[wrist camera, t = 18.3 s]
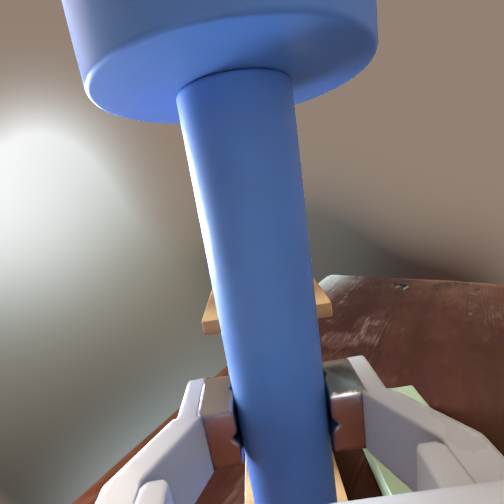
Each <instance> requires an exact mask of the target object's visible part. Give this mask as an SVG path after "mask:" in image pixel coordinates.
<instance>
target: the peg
mask: <svg viewBox="0 0 504 504" xmlns="http://www.w3.org/2000/svg"><path fill="white" fill-rule="evenodd" d="M62 4H63V8H64V12H65V16H66V20H67V24H68V27H69V31H70V35H71V39H72V43H73V47H74V51H75V54H76V58H77V62H78V66H79V70H80V74H81V78H82V81H83V85H84V89H85V92H86V93H87V95H88V97H89V98H90V100H91V101H92V102H93V103H94V104H96V106H98V107H100V108H101V109H103V110H105V111H107V112H109V113H111V114H115V115H118V116H121V117H124V118H128V119H133V120H140V121H145V122H155V123H181V128H182V132H183V138H184V143H185V148H186V154H187V158H188V163H189V169H190V174H191V179H192V184H193V189H194V195H195V200H196V204H197V210H198V215H199V220H200V225H201V231H202V235H203V240H204V246H205V251H206V256H207V261H208V267H209V271H210V277H211V282H212V287H213V292H214V297H215V303H216V308H217V313H218V318H219V323H220V328H221V333H222V338H223V344H224V349H225V353H226V359H227V364H228V369H229V375H230V380H231V385H232V390H233V395H234V400H235V405H236V410H237V416H238V421H239V426H240V430H241V436H242V441H243V446H244V452H245V457H246V462H247V467H248V472H249V477H250V482H251V488H252V493H253V498H254V503H255V504H330V503H337V493H336V484H335V475H334V466H333V457H332V447H331V438H330V429H329V420H328V411H327V402H326V393H325V384H324V374H323V365H322V356H321V346H320V337H319V328H318V319H317V310H316V300H315V291H314V282H313V273H312V264H311V255H310V245H309V237H308V227H307V218H306V209H305V199H304V191H303V182H302V173H301V163H300V154H299V145H298V135H297V126H296V117H295V108H294V105H296V104H299V103H302V102H305V101H308V100H310V99H312V98H315V97H318V96H320V95H322V94H325V93H327V92H328V91H331V90H333V89H335V88H337V87H338V86H340V85H342V84H344V83H345V82H347V81H349V80H350V79H351V78H353V77H354V76H356V75H357V74H358V73H360V72H361V71H362V70H363V69H364V68H365V67H366V66H367V65H368V64H369V62H371V60H372V58H373V56H374V55H375V53H376V49H377V45H378V28H377V5H376V0H62Z"/></svg>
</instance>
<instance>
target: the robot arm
mask: <svg viewBox="0 0 504 504" xmlns="http://www.w3.org/2000/svg"><path fill="white" fill-rule="evenodd" d="M322 365H323V374H324V384H325V393H326V402H327V411H328V420H329V429H330V435H331V438H332V441H333V444H334V447H335V450H336V451H345V450H354V449H363V448H366V450H367V451H368V452H370V453H371V454H372V455H373V456H374V457H375V458H376V459H377V460H379V461H380V462H381V463H382V464H383V465H384V466H385V467H386V468H387V469H389V470H390V471H391V472H392V473H393V474H394V475H395V476H396V477H398V478H399V479H400V480H401V481H402V482H403V483H404V484H405V485H406V486H408V487H409V488H410V489H411V490H412V491H413V492H410V493H403V494H396V495H388V496H381V497H374V498H366V499H359V500H352V501H344V502H337V503H330V504H504V456H503V455H502V454H501V453H500V452H499V451H498V450H497V449H496V448H495V446H494V445H493V444H492V443H491V442H490V441H489V440H488V439H487V438H486V437H485V436H484V435H483V434H482V433H480V432H478V431H476V430H474V429H472V428H470V427H468V426H466V425H464V424H462V423H460V422H458V421H456V420H454V419H452V418H450V417H448V416H446V415H444V414H442V413H440V412H438V411H436V410H434V409H432V408H430V407H428V406H426V405H424V404H422V403H420V402H418V401H416V400H414V399H412V398H410V397H408V396H406V395H404V394H402V393H400V392H398V391H396V390H394V389H392V388H389V389H386V387H385V386H384V384H383V383H382V381H381V380H380V379H379V377H378V376H377V374H376V373H375V371H374V370H373V369H372V367H371V366H370V364H369V363H368V361H367V360H366V358H365V357H364V356H362V355H361V356H355V357H350V358H346V359H340V360H334V361H328V362H322ZM243 447H244V446H243V441H242V436H241V430H240V426H239V421H238V416H237V410H236V405H235V400H234V395H233V390H232V385H231V380H230V376H221V377H213V378H206V379H198V380H192V381H190V382H189V383H188V384H187V388H186V391H185V395H184V398H183V401H182V405H181V408H180V411H179V415H178V418H177V419H175V420H172V421H171V422H170V423H169V424H168V425H167V426H166V427H165V428H164V429H163V430H161V431H160V432H159V433H158V434H157V435H156V436H155V437H154V438H153V439H152V440H151V441H150V442H149V443H148V444H147V445H146V446H145V447H144V448H143V449H142V450H141V451H140V452H139V453H137V454H136V455H135V456H134V457H133V458H132V459H131V460H130V461H129V462H128V463H127V464H126V465H125V466H124V467H123V468H122V469H121V470H120V471H119V472H118V473H117V474H116V475H115V476H113V477H112V478H111V479H110V480H109V481H108V482H107V483H106V484H105V485H104V486H103V488H102V490H101V492H100V494H99V496H98V498H97V500H96V502H95V504H195V503H196V501H197V499H198V498H199V496H200V494H201V493H202V491H203V489H204V488H205V486H206V484H207V482H208V481H209V479H210V477H211V476H212V474H213V472H214V470H215V469H221V468H226V467H232V466H238V465H243Z"/></svg>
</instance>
